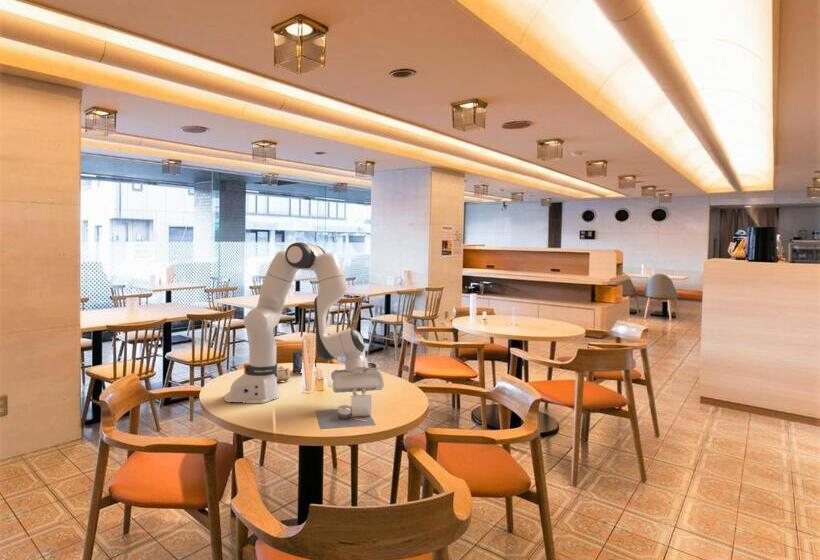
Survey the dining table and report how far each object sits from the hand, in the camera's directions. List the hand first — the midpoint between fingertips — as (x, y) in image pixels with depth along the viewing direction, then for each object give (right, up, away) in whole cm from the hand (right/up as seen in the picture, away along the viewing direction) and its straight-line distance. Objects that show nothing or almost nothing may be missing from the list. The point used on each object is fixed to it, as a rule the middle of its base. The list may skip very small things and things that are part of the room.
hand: (360, 400), depth 195 cm
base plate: (-5, -6, -5) cm, 10 cm away
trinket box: (-46, -2, +45) cm, 65 cm away
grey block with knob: (-2, -5, -4) cm, 7 cm away
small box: (-35, -1, +62) cm, 71 cm away
